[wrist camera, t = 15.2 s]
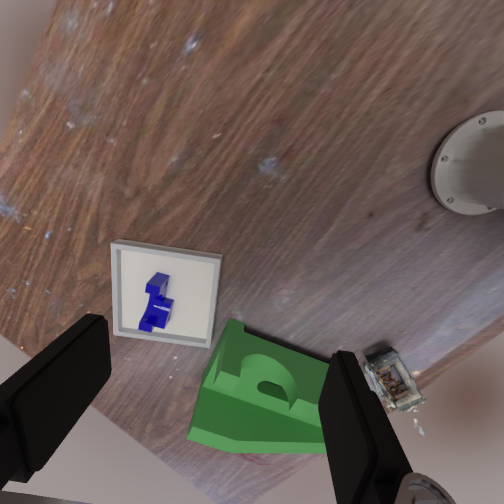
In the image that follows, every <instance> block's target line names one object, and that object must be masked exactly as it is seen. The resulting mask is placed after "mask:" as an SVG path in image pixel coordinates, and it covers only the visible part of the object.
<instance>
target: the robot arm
mask: <svg viewBox="0 0 504 504" xmlns="http://www.w3.org/2000/svg"><path fill="white" fill-rule="evenodd" d="M441 158H442V159H441ZM431 186H432V190H433V192H434V195H435V197H436V198H437V200H438V201H439V203H441V204H442V205H443V206H444V207H445V208H447V209H449V210H451V211H453V212H456V213H460V214H465V215H480V214H485V213H489V212H491V211H494V210H497V209H498V208H500V209H504V111H503V110H499V111H492V112H487V113H483V114H479V115H477V116H474V117H472V118H470V119H468V120H466V121H465V122H463V123H462V124H460V125H459V126H457V127H456V128H455V129H454V130H453V131H452V132H451V133H450V134H449V135H448V136H447V137H446V138H445V140H444V141H443V142H442V144H441V146H440V147H439V149H438V150H437V153H436V155H435V157H434V160H433V164H432V168H431ZM111 371H112V368H111V355H110V343H109V330H108V321H107V320H105V318H104V316H102V315H97V314H90V313H89V314H86V315H84V316H83V317H82V318H81V319H79V320H78V321H77V322H76V323H75V324H73V325H72V326H71V327H70V328H69V329H67V330H66V331H65V332H64V333H63V334H61V335H60V336H59V337H58V338H57V339H55V340H54V341H53V342H52V343H50V344H49V345H48V346H47V347H46V348H44V349H43V350H42V351H41V352H40V353H38V354H37V355H36V356H35V357H34V358H32V359H31V360H30V361H29V362H28V363H27V364H25V365H24V366H23V367H21V368H20V369H19V370H18V371H17V372H15V373H14V374H13V375H12V376H11V377H9V378H8V379H7V380H6V381H5V382H3V383H2V384H1V385H0V504H89V503H83V502H76V501H70V500H63V499H57V498H50V497H43V496H37V495H30V494H23V493H15V492H7V491H2V488H3V487H4V486H5V485H6V484H7V482H8V481H9V480H10V481H16V482H22V483H27V482H28V481H29V479H30V478H31V477H32V475H33V474H34V473H35V471H39V470H41V469H42V468H43V466H44V465H45V464H46V463H47V461H48V460H49V459H50V457H51V456H52V455H53V453H54V452H55V450H56V449H57V448H58V447H59V445H60V444H61V442H62V441H63V440H64V439H65V437H66V436H67V434H68V433H69V432H70V430H71V429H72V428H73V426H74V425H75V424H76V422H77V421H78V419H79V418H80V417H81V415H82V414H83V413H84V411H85V410H86V409H87V407H88V406H89V405H90V403H91V402H92V401H93V399H94V398H95V397H96V395H97V394H98V393H99V391H100V390H101V389H102V387H103V386H104V385H105V383H106V382H107V380H108V379H109V377H110V375H111ZM318 412H319V417H320V422H321V427H322V432H323V437H324V442H325V447H326V452H327V457H328V462H329V466H330V471H331V476H332V481H333V486H334V491H335V496H336V501H337V504H456V503H455V501H454V500H453V498H452V497H451V496H450V495H449V494H448V492H446V490H445V489H444V488H442V487H441V486H440V485H439V484H438V483H437V482H435V481H434V480H432V479H431V478H429V477H428V476H425V475H422V474H420V473H414V472H413V470H412V468H411V466H410V464H409V462H408V460H407V457H406V455H405V453H404V451H403V449H402V447H401V445H400V443H399V440H398V438H397V436H396V434H395V432H394V430H393V428H392V425H391V423H390V421H389V419H388V417H387V415H386V413H385V410H384V408H383V406H382V404H381V402H380V400H379V398H378V396H377V394H376V393H375V392H374V391H371V390H370V387H369V385H368V383H367V381H366V379H365V376H364V374H363V372H362V370H361V367H360V365H359V363H358V361H357V359H356V356H355V354H354V353H353V352H348V351H341V350H338V351H337V353H333V354H332V357H331V360H330V364H329V367H328V371H327V374H326V377H325V381H324V384H323V387H322V391H321V394H320V398H319V401H318Z"/></svg>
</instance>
